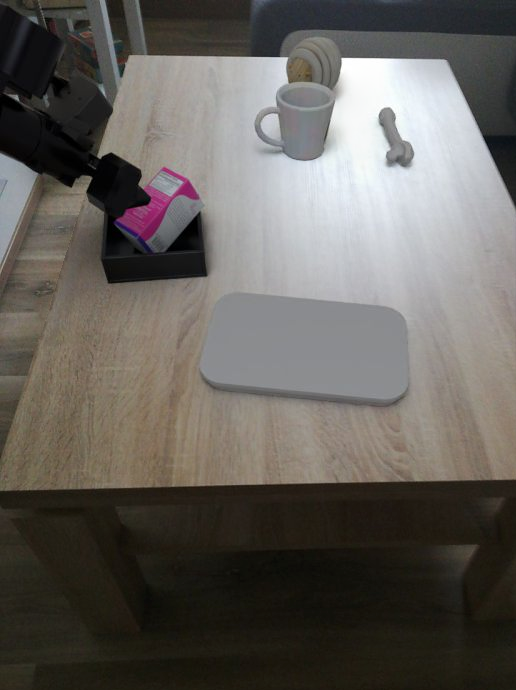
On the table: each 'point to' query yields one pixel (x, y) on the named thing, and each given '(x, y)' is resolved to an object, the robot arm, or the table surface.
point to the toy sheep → (315, 62)
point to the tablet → (306, 349)
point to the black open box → (152, 255)
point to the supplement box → (161, 213)
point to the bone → (395, 139)
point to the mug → (300, 119)
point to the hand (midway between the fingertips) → (127, 186)
